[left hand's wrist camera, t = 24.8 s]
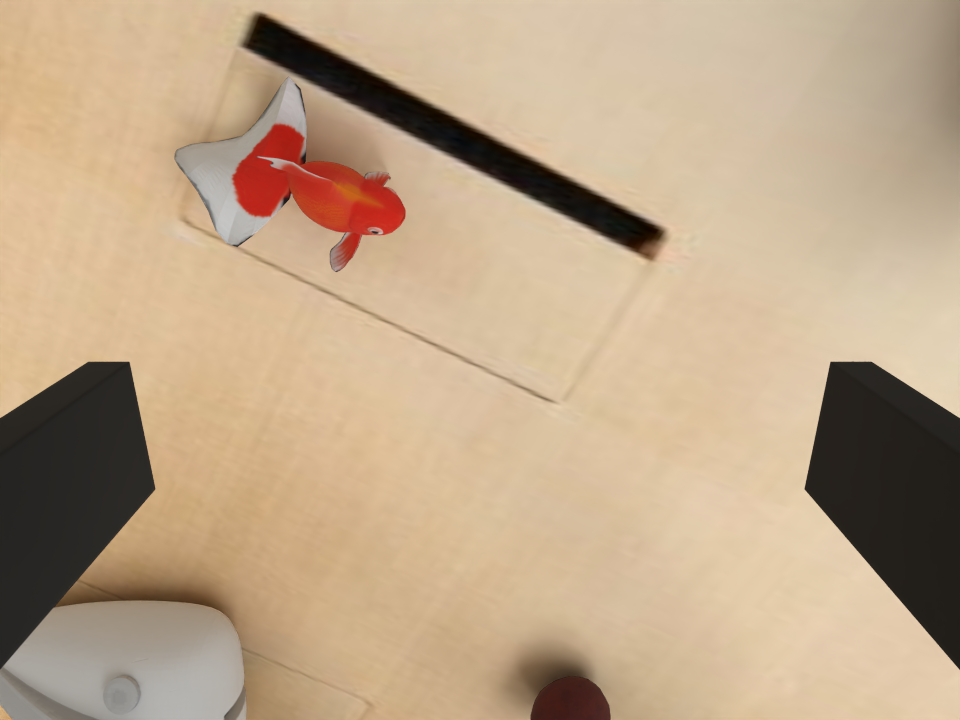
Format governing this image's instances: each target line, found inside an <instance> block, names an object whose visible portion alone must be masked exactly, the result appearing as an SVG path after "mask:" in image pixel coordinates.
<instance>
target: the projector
mask: <svg viewBox="0 0 960 720" xmlns="http://www.w3.org/2000/svg"><path fill="white" fill-rule="evenodd" d="M244 678H245V675H244V664H243V656H242V649H241V644H240V640H239V636H238V634H237V631H236V629H235V628H234V626H233V624H232V622H231V621H230V619H229V618H228V617H227V616H226V615H225V614H223V613H222V612H220V611H219V610H217V609H214V608H212V607H208V606H204V605H199V604H193V603H184V602H171V601H141V600H139V601H106V602H93V603H82V604H74V605H67V606H61V607H54V608H53V609H52V610H51V611H50V612H49V614H48V615H47V616H46V617H45V618H44V619H43V621H42V622H41V623H40V624H39V625H38V626H37V628H36V629H35V630H34V631H33V632H32V633H31V635H30V636H29V637H28V638H27V639H26V640H25V641H24V643H23V644H22V645H21V646H20V647H19V648H18V650H17V651H16V652H15V653H14V654H13V655H12V657H11V658H10V659H9V660H8V661H7V662H6V664H5V665H4V666H3V667H2V668H1V669H0V705H1V706H2V708H3V709H4V710H5V711H6V712H7V714H8V715H9V716H10V717H11V718H12V719H13V720H246V715H247V709H246V691H245V687H244Z"/></svg>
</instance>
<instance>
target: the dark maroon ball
mask: <svg viewBox="0 0 960 720" xmlns="http://www.w3.org/2000/svg"><path fill="white" fill-rule="evenodd" d="M531 720H611V718H610V708H609V704H608V702H607V700H606V698H605V696H604V695H603V693H602V691H601V690H600V688H599V687H598V686H597V685H596V684H594V683H593V682H591V681H590V680H588V679H585V678H581V677H565V678H562V679H559V680H556V681H554V682H552V683H551V684H549V685H548V686H546V687H545V688H544V689H543V690H542V691H541V692H540V693H539V695H538V696H537V698H536V700H535V702H534V705H533V709H532V713H531Z"/></svg>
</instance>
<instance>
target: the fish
mask: <svg viewBox="0 0 960 720" xmlns="http://www.w3.org/2000/svg"><path fill="white" fill-rule="evenodd" d="M175 161H176V162H177V164H178V166H179V168H180V169H181V170H182V171H183V172H184V174H185V175H186V176H187V177H188V179H189V180H190V182H191V183H192V184H193V186H194V187H195V189H196V190H197V192H198V193H199V195H200V197H201V199H202V200H203V202H204V204H205V206H206V208H207V210H208V211H209V214H210V217H211V219H212V222H213V225H214V227H215V230H216V231H217V232H218V234H219V235H220V236H221V237H222V238H223V239H224V241H225V242H226V243H227V244H230V245H233V246H236V247H238V246H239V245H241V244H242V243H243V242H245V241H246V240H247V239H249V238H250V237H251V236H253V235H254V234H255V233H256V232H257V231H259V230H260V229H261V228H262V227H263V226H264V225H265V224H266V223H267V222H268V221H269V220H270V219H271V218H272V217H273V216H274V215H275V214H276V213H277V212H278V211H279V210H280V209H281V207H282V206H283V205H284V204H285V203H286V202H287V201H288V200H289V198H290V195H291V196H293V197H294V199H295V201H296V202H297V204H298V206H299V207H300V209H301V210H302V211H303V212H304V213H305V215H307V216H308V217H309V218H310V219H312V220H313V221H314V222H316V223H318V224H319V225H321V226H323V227H325V228H328V229H330V230H334V231H337V232H346V233H345V234H344V236H343V238H342V239H341V241H340V242H339V243H338V244H337V245H336V246H334V247H333V248H332V249H331V251H330V264H331V267H332V269H333V270H334V271H335V272H337V271H340V270H341V269H342V268H344V267H345V266H346V264H347V263H348V261H349V260H350V259H351V258H352V257H353V256H354V254H355V252H356V250H357V248H358V246H359V243H360V240H361V237H362V235H386V234H389V233H392V232H393V231H394V230H396V229H397V228H398V227H399V226H400V225H401V224H402V222H403V221H404V219H405V208H404V206H403V204H402V202H401V200H400V198H399V197H398V195H397V193H396V192H395V191H394V190H393V189H391V188H389V187H383V186H384V184H385V183H386V182H387V180H388V179H390V178H391V177H390V176H389V173H384V172H370V173H367V174H366V175H365V177H363V176H361V175H360V174H359V173H357V172H356V171H354V170H353V169H351V168H349V167H346V166H343V165H341V164H337V163H332V162H324V161H314V162H309V163H305V161H306V116H305V109H304V104H303V99H302V94H301V89H300V88H299V87H298V86H297V85H296V84H295V83H294V82H293V81H292V80H291V79H290V78H289V77H288V78H287V79H286V80H285V81H284V82H283V84H282V85H281V86H280V88H279V89H278V91H277V93H276V94H275V96H274V97H273V99H272V101H271V102H270V104H269V105H268V107H267V108H266V110H265V111H264V112H263V114H262V115H261V117H260V118H259V119H258V121H257V122H256V123H255V124H254V125H253V126H252V127H251V128H250V129H249V130H248V131H247V132H246V133H245V134H244V135H243V136H241V137H236V138H232V139H227V140H222V141H218V142H208V143H197V144H190V145H188V146H185V147H182V148H180V149H177V151H176V153H175Z"/></svg>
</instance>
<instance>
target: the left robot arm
mask: <svg viewBox="0 0 960 720" xmlns="http://www.w3.org/2000/svg"><path fill="white" fill-rule="evenodd" d="M154 490H155V485H154V480H153V475H152V470H151V465H150V460H149V455H148V450H147V445H146V441H145V436H144V431H143V426H142V421H141V416H140V411H139V406H138V401H137V397H136V392H135V387H134V382H133V377H132V372H131V367H130V362H87V363H86V364H84V365H83V366H81V367H80V368H78V369H76V370H75V371H73V372H72V373H70V374H69V375H67V376H66V377H64V378H62V379H61V380H59V381H58V382H56V383H55V384H53V385H51V386H50V387H48V388H47V389H45V390H44V391H42V392H41V393H39V394H37V395H36V396H34V397H33V398H31V399H30V400H28V401H26V402H25V403H23V404H22V405H20V406H19V407H17V408H16V409H14V410H12V411H11V412H9V413H8V414H6V415H5V416H3V417H1V418H0V669H1V668H2V667H3V666H4V665H5V664H6V662H7V661H8V660H9V659H10V658H11V657H12V655H13V654H14V653H15V652H16V651H17V650H18V648H19V647H20V646H21V645H22V644H23V643H24V641H25V640H26V639H27V638H28V637H29V636H30V635H31V633H32V632H33V631H34V630H35V629H36V628H37V626H38V625H39V624H40V623H41V622H42V621H43V619H44V618H45V617H46V616H47V615H48V614H49V612H50V611H51V610H52V609H53V608H54V607H55V605H56V604H57V603H58V602H59V601H60V600H61V598H62V597H63V596H64V595H65V594H66V593H67V591H68V590H69V589H70V588H71V587H72V586H73V584H74V583H75V582H76V581H77V580H78V579H79V577H80V576H81V575H82V574H83V573H84V572H85V571H86V569H87V568H88V567H89V566H90V565H91V564H92V562H93V561H94V560H95V559H96V558H97V557H98V555H99V554H100V553H101V552H102V551H103V550H104V548H105V547H106V546H107V545H108V544H109V543H110V541H111V540H112V539H113V538H114V537H115V536H116V534H117V533H118V532H119V531H120V530H121V529H122V527H123V526H124V525H125V524H126V523H127V522H128V520H129V519H130V518H131V517H132V516H133V515H134V513H135V512H136V511H137V510H138V509H139V508H140V507H141V505H142V504H143V503H144V502H145V501H146V500H147V498H148V497H149V496H150V495H151V494H152V493H153V491H154ZM805 490H806V491H807V493H808V494H809V495H810V496H811V497H812V498H813V500H814V501H815V502H816V503H817V504H818V505H819V507H820V508H821V509H822V510H823V511H824V512H825V513H826V515H827V516H828V517H829V518H830V519H831V520H832V522H833V523H834V524H835V525H836V526H837V527H838V529H839V530H840V531H841V532H842V533H843V534H844V536H845V537H846V538H847V539H848V540H849V541H850V543H851V544H852V545H853V546H854V547H855V548H856V550H857V551H858V552H859V553H860V554H861V555H862V557H863V558H864V559H865V560H866V561H867V562H868V564H869V565H870V566H871V567H872V568H873V569H874V571H875V572H876V573H877V574H878V575H879V576H880V577H881V579H882V580H883V581H884V582H885V583H886V584H887V586H888V587H889V588H890V589H891V590H892V591H893V593H894V594H895V595H896V596H897V597H898V598H899V600H900V601H901V602H902V603H903V604H904V605H905V607H906V608H907V609H908V610H909V611H910V612H911V614H912V615H913V616H914V617H915V618H916V619H917V621H918V622H919V623H920V624H921V625H922V626H923V628H924V629H925V630H926V631H927V632H928V633H929V635H930V636H931V637H932V638H933V639H934V640H935V641H936V643H937V644H938V645H939V646H940V647H941V648H942V650H943V651H944V652H945V653H946V654H947V655H948V657H949V658H950V659H951V660H952V661H953V662H954V664H955V665H956V666H957V667H958V668H959V669H960V418H959V417H957V416H955V415H954V414H952V413H951V412H949V411H948V410H946V409H944V408H943V407H941V406H940V405H938V404H937V403H935V402H934V401H932V400H930V399H929V398H927V397H926V396H924V395H923V394H921V393H919V392H918V391H916V390H915V389H913V388H912V387H910V386H909V385H907V384H905V383H904V382H902V381H901V380H899V379H898V378H896V377H894V376H893V375H891V374H890V373H888V372H887V371H885V370H884V369H882V368H880V367H879V366H877V365H876V364H874V363H873V362H830V367H829V372H828V377H827V382H826V387H825V392H824V397H823V401H822V406H821V411H820V416H819V421H818V426H817V431H816V436H815V441H814V445H813V450H812V455H811V460H810V465H809V470H808V475H807V480H806V485H805Z"/></svg>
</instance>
